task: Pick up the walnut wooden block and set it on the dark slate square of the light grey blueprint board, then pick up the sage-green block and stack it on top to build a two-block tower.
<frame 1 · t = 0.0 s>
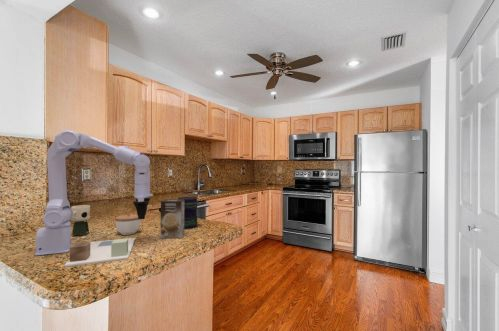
hand: (142, 217, 97), 10 cm above the counter, tool pointing down, fingers open, 7 cm apart
character mug: (80, 235, 108), on the counter
sage block: (120, 253, 81), point 1 cm above the counter, touching blueprint board
walnut block: (80, 258, 77), point 1 cm above the counter, touching blueprint board
blueprint board: (105, 250, 86), on the counter
storage jar: (187, 227, 121), on the counter
lidded jar: (128, 233, 110), on the counter
coffee box: (172, 236, 104), on the counter
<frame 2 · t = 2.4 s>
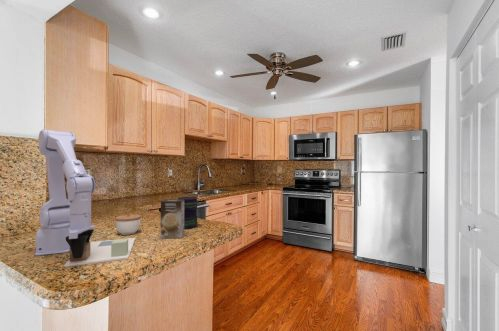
hand: (80, 255, 77), 2 cm above the counter, tool pointing down, fingers closed on walnut block, 4 cm apart
walnut block: (80, 258, 77), point 1 cm above the counter, touching blueprint board, gripper
everything else where it was.
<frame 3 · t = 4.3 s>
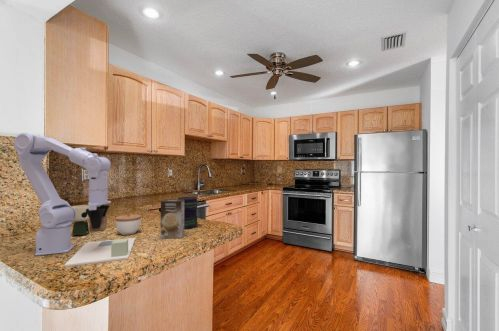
hand: (98, 226, 86), 9 cm above the counter, tool pointing down, fingers closed on walnut block, 4 cm apart
walnut block: (98, 230, 86), point 8 cm above the counter, touching gripper
everything else where it was.
when the fingers open (3 cm above the counter, at t = 6.3 s): walnut block drops 1 cm, resting on blueprint board.
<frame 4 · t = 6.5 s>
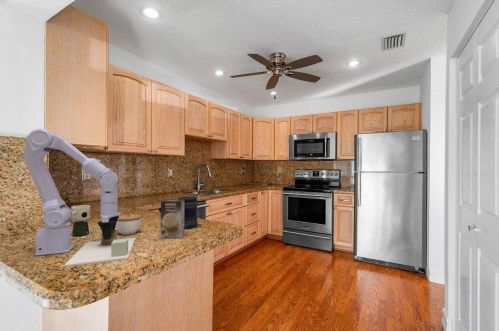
hand: (109, 237, 93), 3 cm above the counter, tool pointing down, fingers open, 6 cm apart
walnut block: (109, 243, 93), point 1 cm above the counter, touching blueprint board
everything else where it was.
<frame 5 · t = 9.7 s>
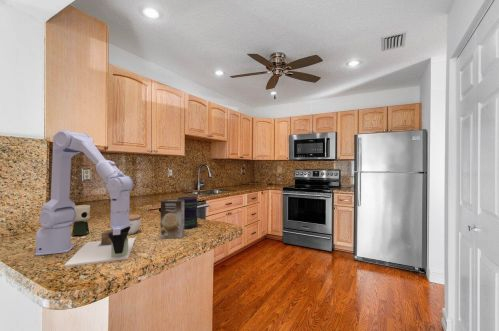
hand: (120, 250, 81), 2 cm above the counter, tool pointing down, fingers closed on sage block, 4 cm apart
sage block: (120, 253, 81), point 1 cm above the counter, touching blueprint board, gripper
everything else where it was.
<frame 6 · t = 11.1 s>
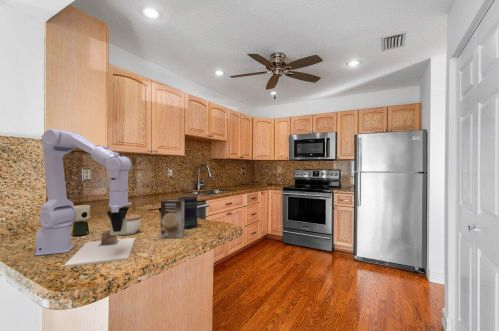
hand: (118, 229, 83), 9 cm above the counter, tool pointing down, fingers closed on sage block, 4 cm apart
sage block: (118, 232, 83), point 7 cm above the counter, touching gripper
everything else where it was.
when the fingers open (7 cm above the counter, at t = 12.7 s): sage block stays where it is, resting on walnut block.
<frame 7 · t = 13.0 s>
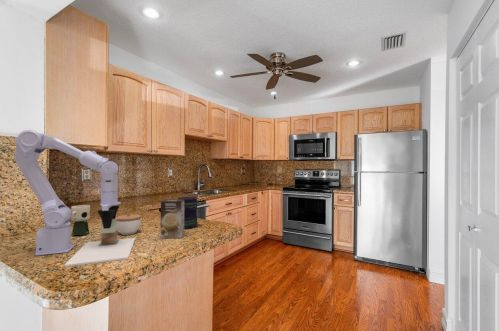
hand: (109, 226, 93), 7 cm above the counter, tool pointing down, fingers open, 7 cm apart
sage block: (109, 231, 93), point 5 cm above the counter, touching walnut block
walnut block: (109, 243, 93), point 1 cm above the counter, touching blueprint board, sage block
everything else where it was.
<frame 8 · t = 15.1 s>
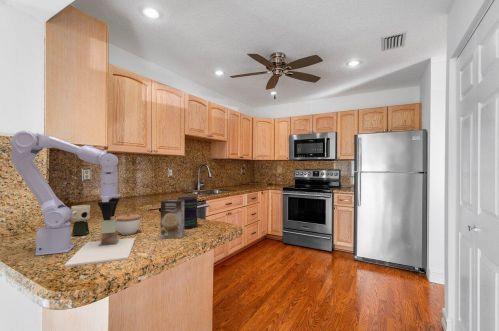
hand: (109, 218, 93), 10 cm above the counter, tool pointing down, fingers open, 7 cm apart
nothing on the counter moved.
at the end: walnut block 0.2 cm from the target spot on the blueprint board, point 0.6 cm above the blueprint board's base; sage block 0.1 cm off-centre on the walnut block, point 4.5 cm above the walnut block's base; sage block tilted 0° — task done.
